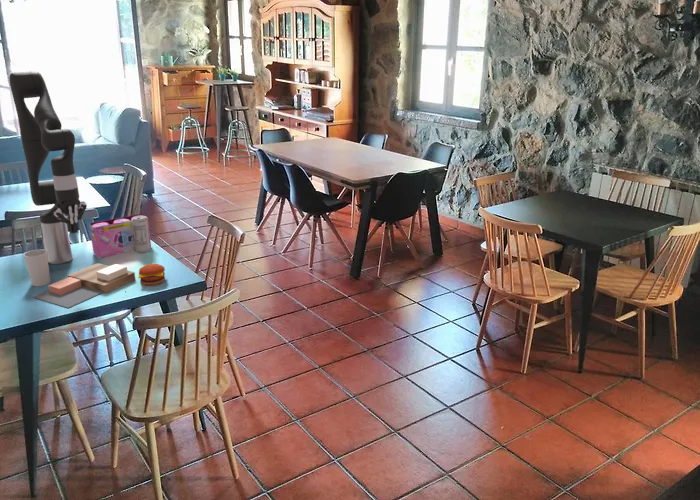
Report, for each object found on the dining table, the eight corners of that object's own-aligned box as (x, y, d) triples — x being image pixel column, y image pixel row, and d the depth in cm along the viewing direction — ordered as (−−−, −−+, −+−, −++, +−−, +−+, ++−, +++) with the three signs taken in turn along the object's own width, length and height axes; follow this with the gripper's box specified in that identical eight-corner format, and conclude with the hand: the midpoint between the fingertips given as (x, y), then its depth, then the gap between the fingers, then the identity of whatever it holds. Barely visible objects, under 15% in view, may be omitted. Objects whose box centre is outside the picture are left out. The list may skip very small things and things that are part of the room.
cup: (57, 280, 228) (52, 250, 224) (41, 288, 221) (35, 257, 217) (41, 277, 231) (35, 248, 227) (24, 285, 224) (18, 255, 220)
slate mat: (32, 297, 214) (32, 296, 214) (68, 282, 226) (68, 281, 226) (68, 308, 205) (68, 307, 205) (103, 292, 218) (103, 291, 218)
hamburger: (139, 287, 222) (137, 271, 220) (141, 278, 231) (138, 262, 228) (165, 285, 224) (163, 268, 222) (166, 275, 233) (164, 259, 231)
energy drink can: (152, 248, 261) (148, 215, 256) (148, 253, 255) (144, 219, 250) (138, 248, 261) (133, 215, 256) (133, 253, 255) (129, 220, 250)
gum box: (148, 241, 270) (144, 212, 265) (154, 246, 264) (151, 217, 259) (93, 253, 256) (88, 222, 251) (98, 258, 250) (93, 227, 246)
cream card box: (97, 277, 223) (96, 271, 222) (116, 269, 230) (115, 263, 229) (108, 281, 220) (107, 274, 219) (127, 272, 228) (126, 266, 227)
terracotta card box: (49, 291, 218) (48, 285, 217) (71, 283, 225) (69, 276, 224) (60, 295, 215) (59, 288, 214) (81, 286, 222) (80, 279, 222)
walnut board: (68, 282, 226) (67, 275, 225) (99, 270, 238) (97, 263, 237) (105, 293, 217) (104, 285, 216) (135, 279, 229) (134, 272, 228)
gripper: (74, 181, 220) (82, 225, 226) (42, 189, 209) (51, 236, 215) (88, 183, 216) (95, 229, 223) (56, 192, 205) (65, 239, 212)
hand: (73, 232), depth 219 cm, fingers closed
